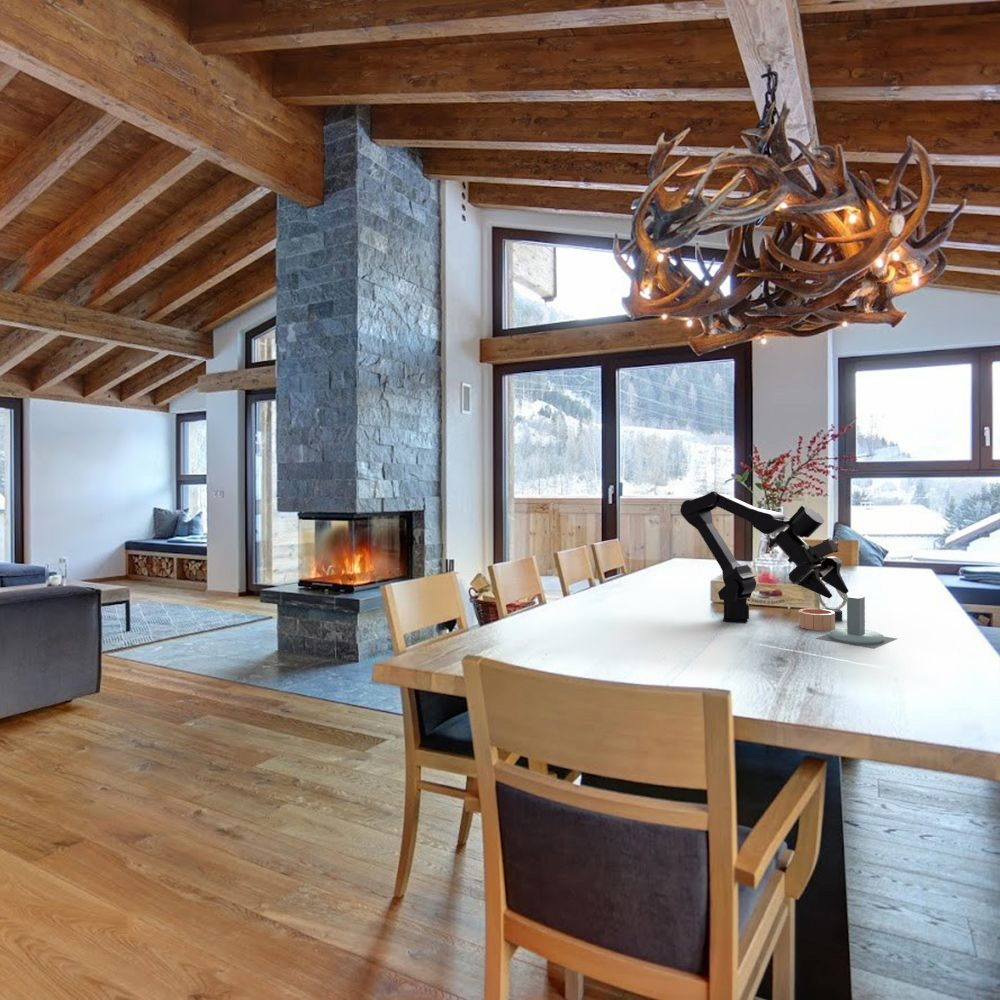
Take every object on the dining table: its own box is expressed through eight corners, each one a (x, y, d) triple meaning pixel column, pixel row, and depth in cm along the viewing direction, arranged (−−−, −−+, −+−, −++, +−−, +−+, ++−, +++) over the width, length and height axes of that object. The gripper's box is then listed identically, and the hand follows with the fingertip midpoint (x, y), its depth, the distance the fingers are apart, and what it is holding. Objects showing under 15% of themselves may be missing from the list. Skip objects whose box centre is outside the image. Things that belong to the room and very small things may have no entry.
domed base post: (820, 638, 170) (820, 597, 170) (842, 630, 178) (842, 591, 177) (871, 647, 161) (871, 603, 160) (891, 638, 168) (891, 596, 168)
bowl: (800, 630, 181) (799, 613, 181) (798, 623, 189) (797, 607, 189) (836, 632, 178) (836, 615, 177) (832, 625, 186) (832, 609, 186)
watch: (850, 622, 189) (849, 583, 189) (818, 621, 191) (818, 582, 191) (845, 618, 194) (845, 580, 194) (815, 617, 197) (814, 580, 196)
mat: (814, 640, 170) (815, 638, 170) (840, 631, 179) (840, 629, 179) (874, 650, 159) (873, 648, 159) (897, 640, 168) (897, 638, 168)
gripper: (799, 531, 170) (845, 578, 162) (833, 526, 182) (877, 570, 173) (770, 560, 176) (813, 607, 168) (805, 553, 188) (846, 597, 180)
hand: (839, 594), depth 172 cm, fingers open, 9 cm apart
